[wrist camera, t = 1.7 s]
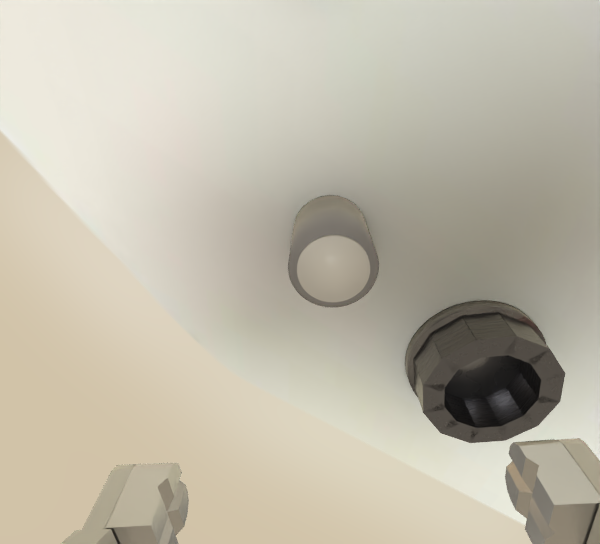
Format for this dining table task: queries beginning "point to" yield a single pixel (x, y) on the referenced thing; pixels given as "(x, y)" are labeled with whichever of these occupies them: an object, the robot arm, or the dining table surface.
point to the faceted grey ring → (483, 372)
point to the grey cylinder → (332, 253)
